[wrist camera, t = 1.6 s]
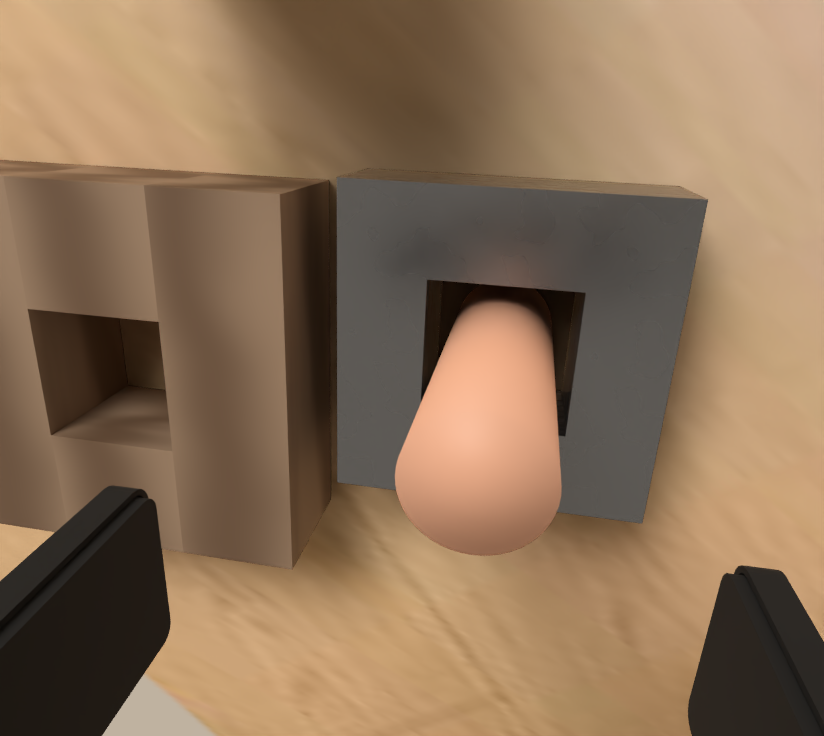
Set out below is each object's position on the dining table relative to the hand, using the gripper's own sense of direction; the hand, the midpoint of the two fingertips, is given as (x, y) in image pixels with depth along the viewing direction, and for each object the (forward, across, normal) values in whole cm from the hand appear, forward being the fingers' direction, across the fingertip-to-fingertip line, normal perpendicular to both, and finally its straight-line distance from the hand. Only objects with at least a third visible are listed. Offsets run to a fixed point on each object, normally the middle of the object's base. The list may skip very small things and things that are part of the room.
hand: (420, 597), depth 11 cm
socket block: (+16, +13, +2) cm, 21 cm away
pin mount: (+16, -1, 0) cm, 16 cm away
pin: (+16, -1, 0) cm, 16 cm away
